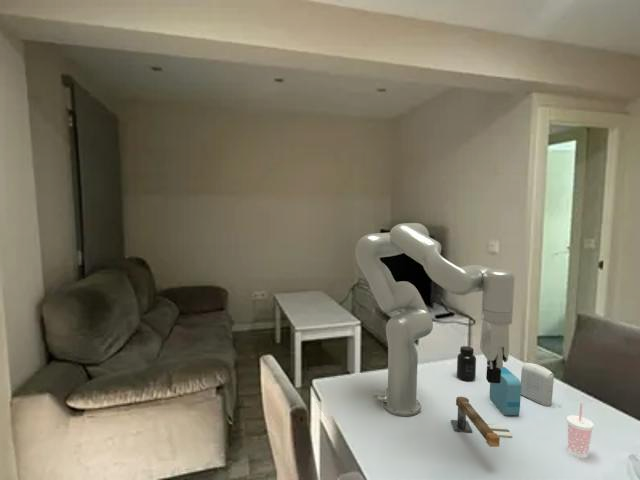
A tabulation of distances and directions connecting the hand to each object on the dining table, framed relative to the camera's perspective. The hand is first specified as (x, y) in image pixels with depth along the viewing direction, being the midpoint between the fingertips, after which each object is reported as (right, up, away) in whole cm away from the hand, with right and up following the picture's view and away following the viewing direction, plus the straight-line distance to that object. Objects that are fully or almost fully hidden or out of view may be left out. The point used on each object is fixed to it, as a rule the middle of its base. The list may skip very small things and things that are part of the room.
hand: (493, 381), depth 105 cm
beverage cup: (+24, -20, +1) cm, 31 cm away
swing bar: (-4, -13, +3) cm, 14 cm away
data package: (+15, -18, +24) cm, 34 cm away
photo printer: (+28, -17, +30) cm, 45 cm away
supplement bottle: (+10, -16, +46) cm, 50 cm away
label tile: (+6, -19, +10) cm, 22 cm away
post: (-4, -19, +13) cm, 23 cm away
